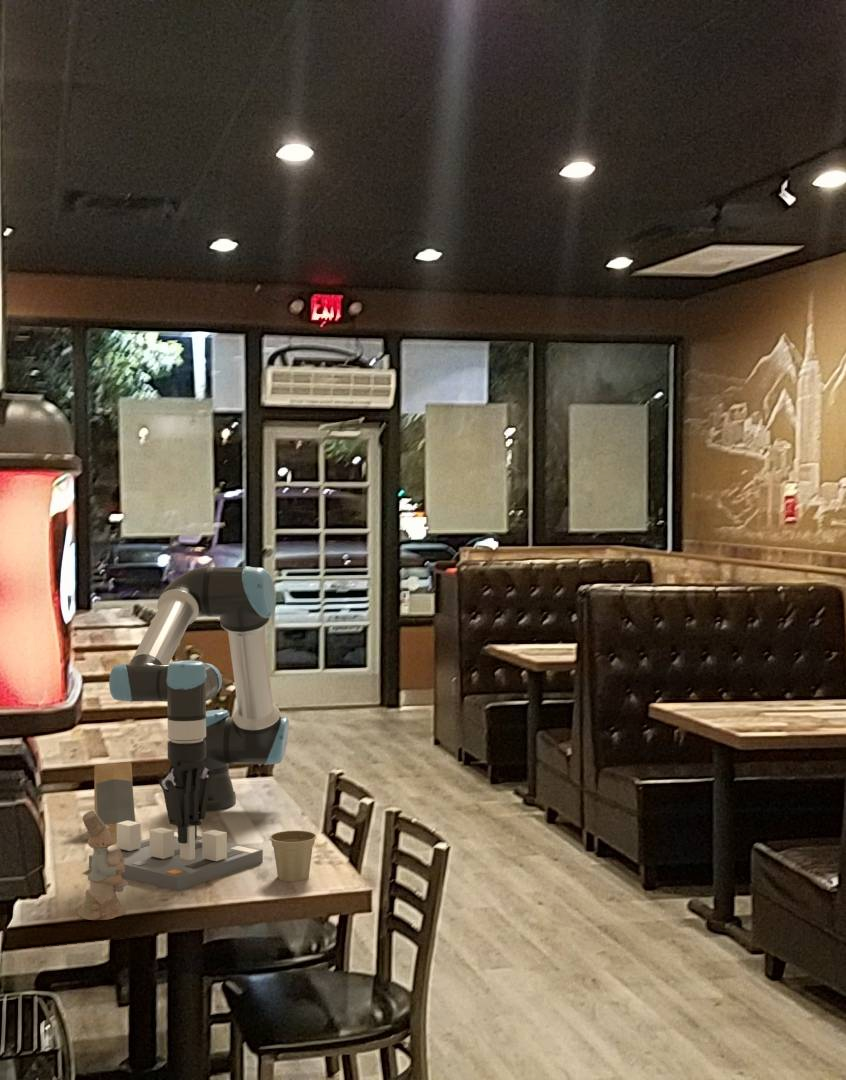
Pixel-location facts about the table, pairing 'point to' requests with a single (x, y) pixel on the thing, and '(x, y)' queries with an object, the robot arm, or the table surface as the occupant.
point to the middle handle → (161, 843)
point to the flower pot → (293, 854)
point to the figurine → (103, 873)
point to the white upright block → (214, 845)
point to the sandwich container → (114, 794)
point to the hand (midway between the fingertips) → (187, 858)
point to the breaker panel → (184, 865)
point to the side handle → (129, 835)
